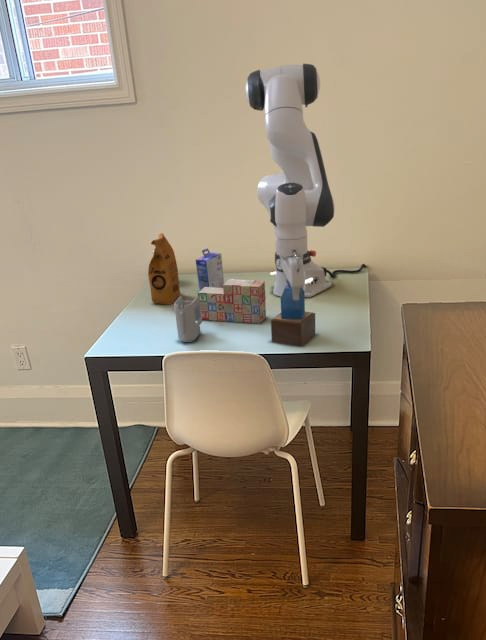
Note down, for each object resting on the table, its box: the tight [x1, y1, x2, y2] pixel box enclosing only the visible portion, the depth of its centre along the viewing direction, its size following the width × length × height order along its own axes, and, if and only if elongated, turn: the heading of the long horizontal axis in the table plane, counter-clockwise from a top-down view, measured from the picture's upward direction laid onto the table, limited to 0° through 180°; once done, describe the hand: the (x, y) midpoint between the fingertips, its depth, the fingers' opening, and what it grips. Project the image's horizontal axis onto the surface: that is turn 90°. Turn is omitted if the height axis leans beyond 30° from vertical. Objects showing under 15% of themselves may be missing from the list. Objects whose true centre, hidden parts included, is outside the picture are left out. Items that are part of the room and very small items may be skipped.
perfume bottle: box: [280, 279, 306, 319], centre depth 196 cm, size 6×6×12 cm
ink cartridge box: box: [195, 248, 225, 291], centre depth 246 cm, size 10×6×14 cm, turn 147°
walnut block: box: [270, 310, 316, 347], centre depth 202 cm, size 10×10×7 cm
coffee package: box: [147, 232, 181, 305], centre depth 237 cm, size 10×12×22 cm
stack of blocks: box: [197, 278, 267, 325], centre depth 218 cm, size 21×6×12 cm, turn 71°
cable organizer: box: [173, 295, 203, 343], centre depth 207 cm, size 7×12×12 cm, turn 168°
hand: (293, 294), depth 196 cm, fingers open, 8 cm apart
